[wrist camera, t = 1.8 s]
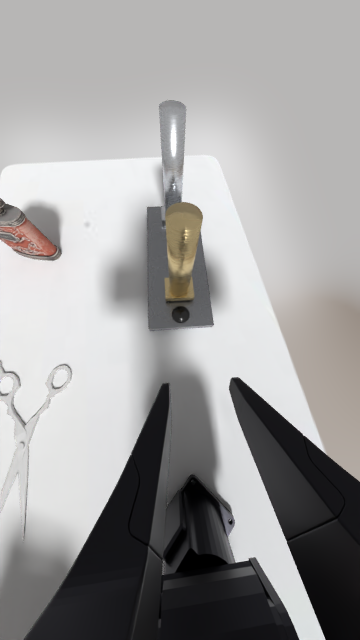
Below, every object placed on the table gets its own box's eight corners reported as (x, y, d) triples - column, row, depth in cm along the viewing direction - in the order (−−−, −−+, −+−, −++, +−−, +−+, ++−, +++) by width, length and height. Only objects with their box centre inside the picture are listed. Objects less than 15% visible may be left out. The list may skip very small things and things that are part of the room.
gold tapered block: (193, 299, 23) (214, 233, 11) (165, 301, 23) (157, 234, 11) (191, 280, 24) (208, 199, 12) (164, 281, 24) (155, 199, 12)
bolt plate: (211, 326, 24) (261, 279, 10) (149, 330, 23) (116, 285, 10) (196, 212, 31) (213, 95, 17) (148, 212, 30) (127, 92, 17)
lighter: (13, 255, 26) (-81, 192, 16) (22, 240, 27) (-61, 173, 17) (56, 263, 26) (-12, 204, 16) (64, 248, 27) (4, 184, 17)
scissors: (72, 354, 21) (52, 544, 16) (76, 354, 22) (58, 536, 16) (-5, 362, 21) (-56, 563, 15) (1, 362, 21) (-46, 554, 16)
